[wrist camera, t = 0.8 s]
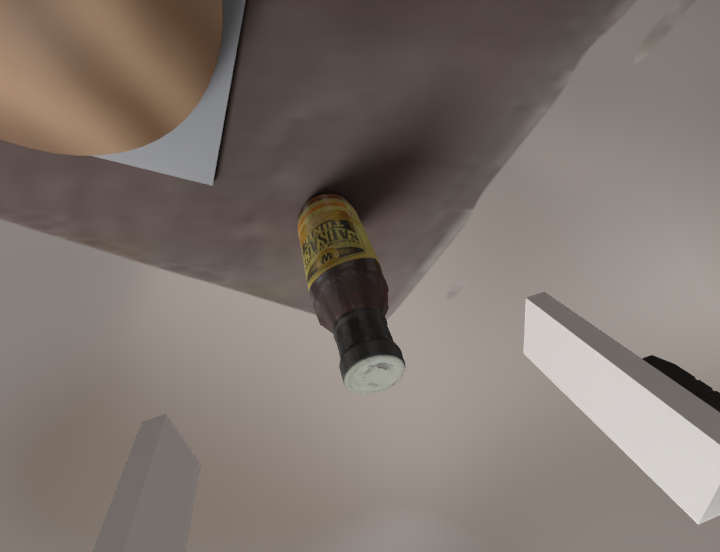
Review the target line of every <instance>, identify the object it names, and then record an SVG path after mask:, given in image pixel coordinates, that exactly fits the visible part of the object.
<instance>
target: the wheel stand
mask: <svg viewBox="0 0 720 552" xmlns="http://www.w3.org/2000/svg"><path fill="white" fill-rule="evenodd" d="M245 1H246V0H223V30H222V41H221V47H220V51H219V56H218V60H217V65H216V67H215V70H214V73H213V75H212V78H211V81H210V83H209V86H208V88H207V89H206V91H205V93H204V95H203V96H202V98H201V100H200V102H199V103H198V105H197V106H196V107H195V108H194V110H193V111H192V112H191V113H190V115H189V116H188V117H187V118H186V119H185V120H184V121H183V122H182V123H181V124H180V125H178V126H177V127H176V128H175V129H174V130H173V131H171V132H169V133H168V134H166V135H165V136H163V137H162V138H160V139H159V140H156V141H154V142H152V143H150V144H147V145H145V146H143V147H140V148H137V149H133V150H129V151H126V152H122V153H115V154H108V155H90V156H95V157H99V158H103V159H107V160H111V161H115V162H119V163H123V164H127V165H131V166H135V167H139V168H143V169H147V170H151V171H155V172H159V173H163V174H167V175H171V176H175V177H180V178H184V179H188V180H192V181H196V182H200V183H204V184H208V185H212V186H213V181H214V175H215V169H216V164H217V158H218V152H219V147H220V141H221V136H222V130H223V124H224V119H225V113H226V108H227V102H228V96H229V91H230V85H231V79H232V74H233V68H234V63H235V57H236V51H237V46H238V40H239V35H240V29H241V23H242V18H243V12H244V6H245Z"/></svg>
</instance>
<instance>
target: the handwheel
mask: <svg viewBox="0 0 720 552" xmlns="http://www.w3.org/2000/svg"><path fill="white" fill-rule="evenodd" d="M222 30H223V0H0V139H1V140H4V141H7V142H10V143H14V144H17V145H21V146H24V147H27V148H31V149H36V150H41V151H46V152H51V153H57V154H67V155H78V156H89V155H108V154H115V153H122V152H126V151H129V150H133V149H137V148H140V147H143V146H145V145H147V144H150V143H152V142H154V141H156V140H159V139H160V138H162V137H163V136H165V135H166V134H168V133H169V132H171V131H173V130H174V129H175V128H176V127H177V126H178V125H180V124H181V123H182V122H183V121H184V120H185V119H186V118H187V117H188V116H189V115H190V113H191V112H192V111H193V110H194V108H195V107H196V106H197V105H198V103H199V102H200V100H201V98H202V96H203V95H204V93H205V91H206V89H207V88H208V86H209V83H210V81H211V78H212V75H213V73H214V70H215V67H216V65H217V60H218V56H219V51H220V47H221V41H222Z"/></svg>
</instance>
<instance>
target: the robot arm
mask: <svg viewBox="0 0 720 552" xmlns="http://www.w3.org/2000/svg"><path fill="white" fill-rule="evenodd" d="M525 312H526V313H525V332H524V354H525V355H526V356H527V357H528V358H529V359H530V360H531V361H532V362H533V363H534V364H535V365H536V366H537V367H538V368H539V369H540V370H541V371H542V372H543V373H544V374H545V375H546V376H547V377H548V378H549V379H550V380H551V381H552V382H553V383H554V384H556V386H557V387H558V388H560V389H561V391H562V392H564V393H565V394H566V395H567V396H568V397H569V398H570V399H571V400H572V401H573V402H574V403H575V404H576V405H577V406H578V407H579V408H580V409H581V410H582V411H583V412H584V413H585V414H586V415H587V416H588V417H589V418H590V419H591V420H592V421H593V422H594V423H595V424H596V425H597V426H598V427H599V428H600V429H601V430H602V431H603V432H604V433H606V435H607V436H608V437H609V438H611V440H612V441H613V442H615V443H616V444H617V445H618V446H619V447H620V448H621V449H622V450H623V451H624V452H625V453H626V454H627V455H628V456H629V457H630V458H631V459H632V460H633V461H634V462H635V463H636V464H637V465H638V466H639V467H640V468H641V469H642V470H643V471H644V472H645V473H646V474H647V475H648V476H649V477H650V478H651V479H652V480H653V481H654V482H655V483H656V484H657V485H658V486H659V487H661V489H663V490H664V491H665V492H666V493H667V494H668V495H669V496H670V497H671V498H672V499H673V500H674V501H675V502H676V503H677V504H678V505H679V506H680V507H681V508H682V509H683V510H684V511H685V512H686V513H687V514H688V515H689V516H690V517H691V518H692V519H693V520H694V521H695V522H696V523H697V524H701V523H703V522H706V521H708V520H710V519H712V518H715V517H717V516H719V515H720V393H719V392H717V391H713V390H712V388H711V387H709V386H708V385H706V384H705V383H703V382H701V381H700V380H696V379H695V377H694V376H692V375H691V374H689V373H688V372H686V371H685V370H683V369H681V368H680V367H678V366H677V365H675V364H673V363H671V362H668V361H665V360H663V359H660V358H658V357H655V356H653V355H651V356H648V357H645V358H643V359H641V358H640V357H638V356H637V355H635V354H634V353H633V352H631V351H630V350H628V349H627V348H625V347H624V346H622V345H621V344H619V343H618V342H617V341H615V340H613V339H612V338H611V337H609V336H608V335H606V334H605V333H603V332H602V331H601V330H599V329H598V328H596V327H595V326H593V325H592V324H590V323H589V322H587V321H586V320H585V319H583V318H581V317H580V316H579V315H577V314H576V313H574V312H573V311H571V310H570V309H569V308H567V307H566V306H564V305H563V304H561V303H560V302H558V301H556V300H555V299H554V298H552V297H551V296H550V295H548V294H547V293H545V292H543V293H540V294H536V295H533V296H530V297H527V298H526V309H525ZM200 467H201V463H200V462H199V461H198V459H197V458H196V456H195V455H194V453H193V452H192V451H191V449H190V448H189V446H188V445H187V443H186V442H185V441H184V439H183V438H182V436H181V435H180V433H179V432H178V430H177V429H176V428H175V426H174V425H173V423H172V422H171V420H170V419H169V418H168V416H167V415H166V414H165V415H161V416H158V417H155V418H152V419H149V420H146V421H143V422H142V423H141V426H140V428H139V431H138V434H137V436H136V439H135V441H134V444H133V447H132V449H131V452H130V455H129V457H128V460H127V462H126V465H125V468H124V470H123V473H122V475H121V478H120V481H119V483H118V486H117V489H116V491H115V494H114V497H113V499H112V502H111V504H110V507H109V509H108V512H107V515H106V517H105V520H104V523H103V525H102V528H101V530H100V533H99V536H98V538H97V541H96V544H95V546H94V549H93V551H92V552H186V545H187V540H188V535H189V529H190V523H191V518H192V512H193V506H194V500H195V495H196V489H197V484H198V478H199V472H200Z"/></svg>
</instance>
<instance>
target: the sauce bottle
mask: <svg viewBox="0 0 720 552" xmlns="http://www.w3.org/2000/svg"><path fill="white" fill-rule="evenodd" d="M298 220H299V222H298V234H299V240H300V245H301V250H302V255H303V261H304V266H305V272H306V278H307V283H308V290H309V294H310V297H311V300H312V303H313V306H314V309H315V311H316V314H317V317H318V320H319V323H320V325H322V326H323V327H325V328H326V329H328V330H329V331H330V332H332V333H333V334H334V339H335V341H336V342H337V346H338V350H339V354H340V358H341V360H340V371H341V375H342V378H343V382H344V385H345V386H346V388H347V389H348V390H350V391H351V392H353V393H357V394H374V393H377V392H381V391H383V390H386V389H388V388H390V387H391V386H393V385H395V384H396V383H397V382H398V381H399V380H400V379H401V378H402V376H403V373H404V371H405V361H404V359H403V356H402V352H401V350H400V348H399V347H398V346H397V345H396V344H395V343H394V342H393V339H392V336H391V334H390V332H389V329H388V327H387V321H386V318H385V315H386V313H387V310H388V286H387V283H386V281H385V279H384V276H383V274H382V270H381V266H380V264H379V262H378V259H377V257H376V255H375V252H374V250H373V248H372V246H371V243H370V241H369V239H368V237H367V235H366V232H365V230H364V228H363V226H362V224H361V222H360V219H359V217H358V215H357V213H356V211H355V210H354V208H353V207H352V205H351V204H350V203H349V202H348V200H346V199H345V198H343V197H341V196H339V195H336V194H323V195H318V196H316V197H315V198H312V199H310V200H309V201H308V202H307V203H306V204H305V206H304V207H303V208H302V211H301V212H300V214H299V216H298Z"/></svg>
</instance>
